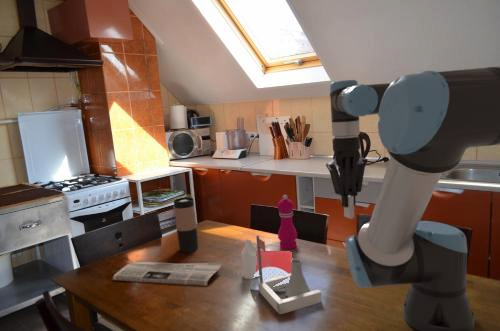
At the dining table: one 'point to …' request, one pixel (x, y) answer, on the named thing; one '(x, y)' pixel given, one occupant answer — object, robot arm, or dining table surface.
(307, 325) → the dining table surface
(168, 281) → the newspaper
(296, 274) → the flask
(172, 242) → the dining table surface
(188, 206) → the travel mug
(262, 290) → the white u-shaped stand
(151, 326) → the dining table surface
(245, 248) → the grey piece
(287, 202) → the pepper mill
